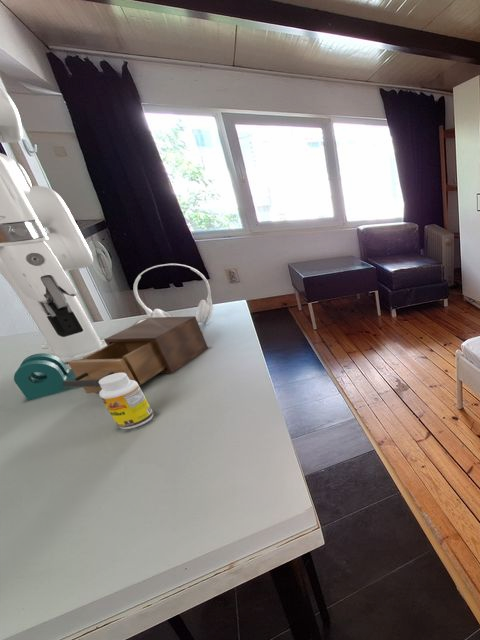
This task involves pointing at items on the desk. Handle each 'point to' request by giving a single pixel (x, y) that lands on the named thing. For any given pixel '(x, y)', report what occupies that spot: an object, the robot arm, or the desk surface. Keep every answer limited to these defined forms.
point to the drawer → (116, 364)
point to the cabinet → (167, 339)
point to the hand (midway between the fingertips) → (71, 333)
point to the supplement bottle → (125, 401)
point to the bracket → (42, 375)
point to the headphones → (201, 316)
